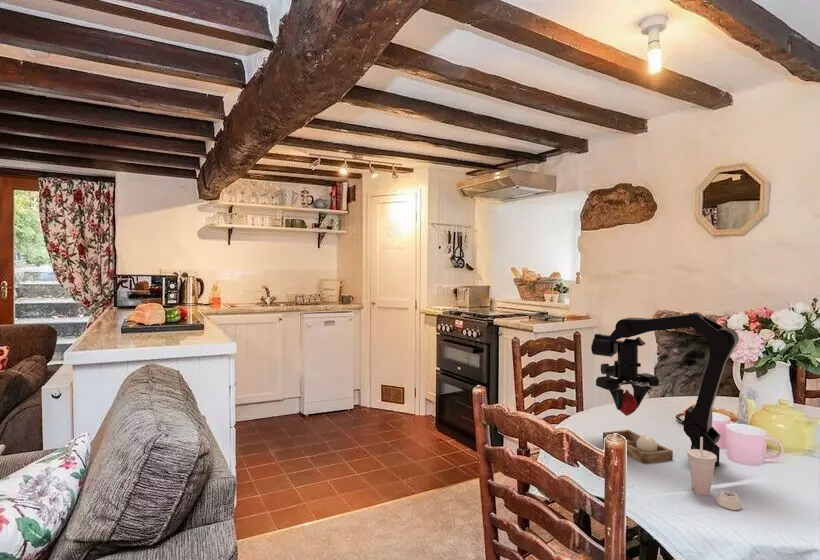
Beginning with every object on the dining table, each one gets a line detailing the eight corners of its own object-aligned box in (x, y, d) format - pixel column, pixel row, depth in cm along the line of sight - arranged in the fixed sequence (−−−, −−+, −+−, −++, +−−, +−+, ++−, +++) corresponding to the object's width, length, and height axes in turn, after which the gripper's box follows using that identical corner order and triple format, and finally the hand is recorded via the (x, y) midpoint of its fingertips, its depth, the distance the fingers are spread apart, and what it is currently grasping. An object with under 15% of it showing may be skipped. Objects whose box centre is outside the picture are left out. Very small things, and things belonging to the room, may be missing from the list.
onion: (640, 418, 146) (640, 392, 146) (621, 418, 146) (621, 392, 146) (632, 412, 152) (632, 387, 152) (614, 412, 152) (614, 387, 152)
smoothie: (683, 492, 120) (684, 436, 119) (689, 483, 125) (690, 430, 124) (713, 501, 115) (714, 443, 115) (718, 491, 120) (719, 436, 120)
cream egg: (661, 457, 139) (662, 438, 138) (645, 459, 137) (645, 440, 137) (647, 450, 144) (647, 431, 144) (631, 452, 142) (631, 433, 142)
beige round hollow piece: (711, 501, 116) (727, 512, 111) (711, 489, 116) (727, 499, 111) (730, 500, 116) (747, 510, 111) (731, 488, 116) (747, 498, 111)
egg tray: (672, 463, 137) (672, 450, 137) (644, 466, 135) (644, 454, 135) (628, 440, 155) (628, 429, 154) (602, 443, 152) (603, 432, 152)
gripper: (635, 352, 158) (634, 399, 159) (585, 355, 154) (585, 404, 154) (660, 358, 148) (660, 409, 148) (607, 362, 143) (607, 414, 144)
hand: (627, 408), depth 149 cm, fingers closed on onion, 6 cm apart
